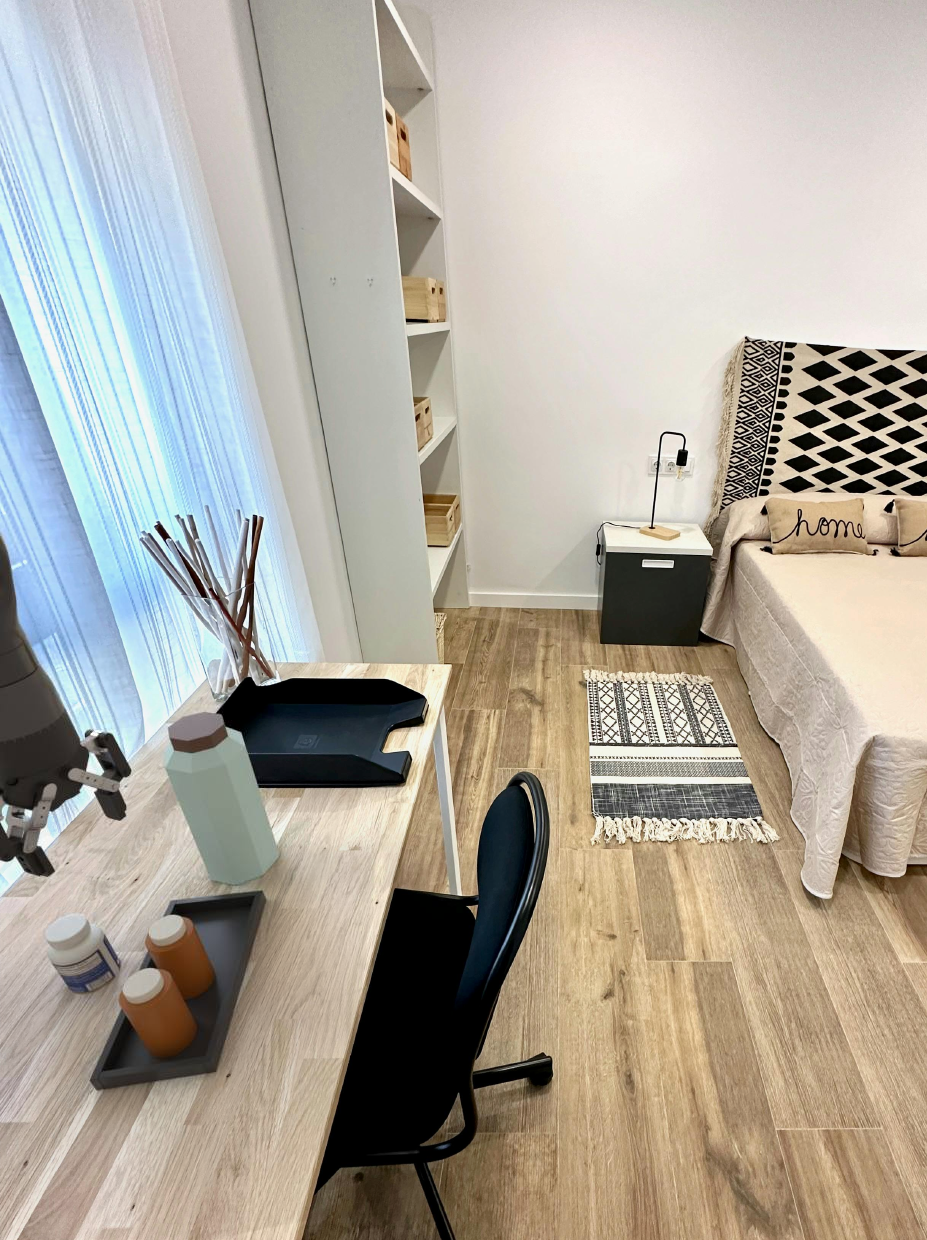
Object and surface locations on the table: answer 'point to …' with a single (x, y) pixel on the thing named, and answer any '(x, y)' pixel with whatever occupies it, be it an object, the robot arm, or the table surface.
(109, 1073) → the tray
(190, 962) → the amber bottle mid
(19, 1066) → the table surface
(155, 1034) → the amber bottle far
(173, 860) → the table surface
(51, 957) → the pill bottle
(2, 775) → the robot arm
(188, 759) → the water bottle
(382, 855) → the table surface
